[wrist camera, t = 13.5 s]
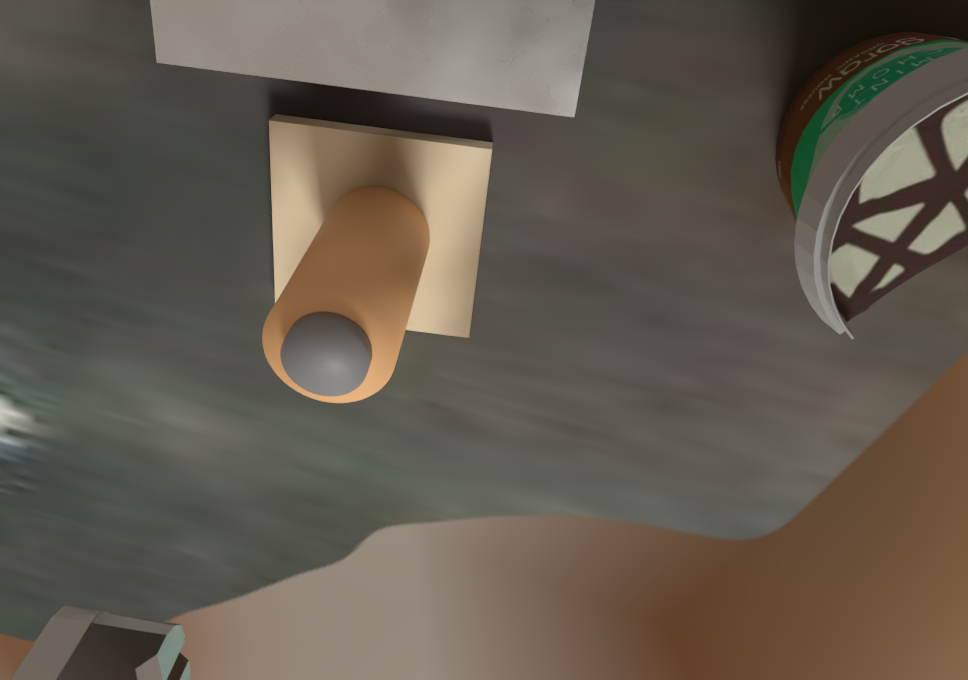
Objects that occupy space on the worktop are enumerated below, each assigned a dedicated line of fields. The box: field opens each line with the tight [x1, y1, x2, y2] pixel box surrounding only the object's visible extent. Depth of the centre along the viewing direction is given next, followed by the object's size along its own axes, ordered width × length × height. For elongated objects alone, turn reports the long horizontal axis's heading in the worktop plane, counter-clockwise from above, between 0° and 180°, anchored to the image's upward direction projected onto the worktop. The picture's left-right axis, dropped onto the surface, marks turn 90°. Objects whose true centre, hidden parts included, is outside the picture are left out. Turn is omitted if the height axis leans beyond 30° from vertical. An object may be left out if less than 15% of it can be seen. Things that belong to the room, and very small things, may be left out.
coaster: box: [269, 114, 493, 338], centre depth 38 cm, size 10×10×1 cm
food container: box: [776, 31, 968, 339], centre depth 29 cm, size 12×6×10 cm, turn 136°
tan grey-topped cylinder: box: [262, 186, 430, 403], centre depth 33 cm, size 5×5×11 cm
